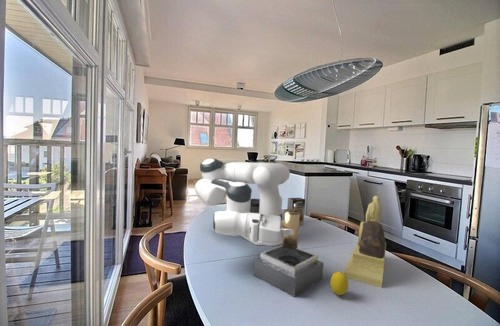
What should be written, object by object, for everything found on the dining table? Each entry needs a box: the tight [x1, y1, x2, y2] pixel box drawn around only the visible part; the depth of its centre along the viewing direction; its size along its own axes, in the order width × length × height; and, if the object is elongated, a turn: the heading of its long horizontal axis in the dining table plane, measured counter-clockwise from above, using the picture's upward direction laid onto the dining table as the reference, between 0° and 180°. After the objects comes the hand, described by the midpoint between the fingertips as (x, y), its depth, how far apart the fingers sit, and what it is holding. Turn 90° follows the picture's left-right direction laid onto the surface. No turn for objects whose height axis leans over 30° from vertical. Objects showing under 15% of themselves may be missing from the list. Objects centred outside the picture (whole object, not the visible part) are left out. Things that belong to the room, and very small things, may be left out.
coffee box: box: [286, 197, 306, 226], centre depth 160 cm, size 9×6×16 cm
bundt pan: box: [250, 198, 260, 213], centre depth 172 cm, size 26×26×10 cm
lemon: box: [329, 271, 349, 297], centre depth 84 cm, size 6×6×8 cm
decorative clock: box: [343, 195, 387, 289], centre depth 105 cm, size 28×13×30 cm, turn 151°
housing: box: [253, 244, 324, 298], centre depth 95 cm, size 18×18×8 cm
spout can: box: [281, 203, 300, 249], centre depth 94 cm, size 6×6×16 cm
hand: (293, 228), depth 94 cm, fingers closed on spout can, 6 cm apart
